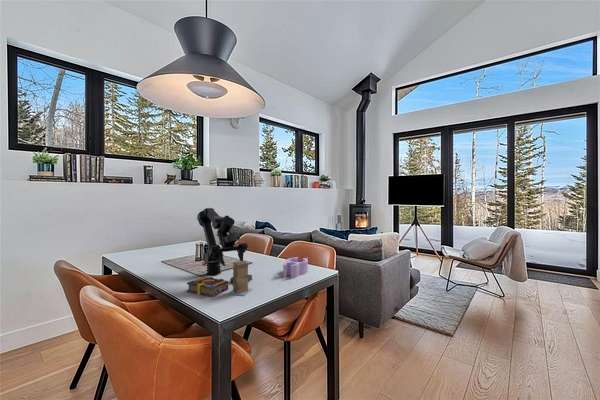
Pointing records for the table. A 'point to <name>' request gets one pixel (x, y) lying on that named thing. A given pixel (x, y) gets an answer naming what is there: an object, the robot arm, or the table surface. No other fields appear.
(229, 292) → the pad
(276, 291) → the table surface
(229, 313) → the table surface
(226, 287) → the decorative book
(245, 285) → the tan wooden block
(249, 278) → the trap pit
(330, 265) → the table surface
